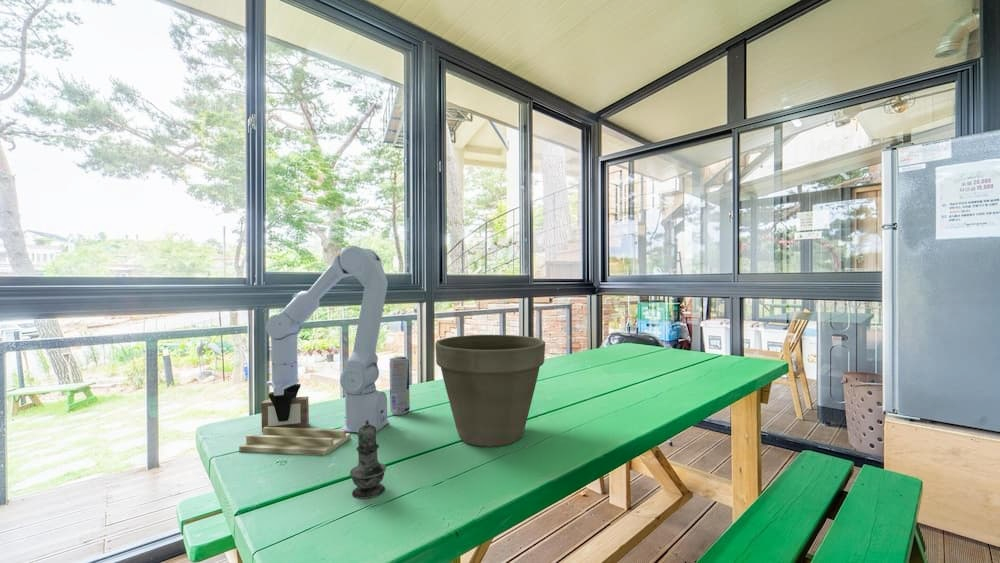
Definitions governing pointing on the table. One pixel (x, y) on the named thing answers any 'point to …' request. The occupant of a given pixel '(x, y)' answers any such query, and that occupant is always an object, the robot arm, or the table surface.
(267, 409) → the frame
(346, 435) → the ledge
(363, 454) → the salt shaker
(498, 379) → the plant pot
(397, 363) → the beverage can
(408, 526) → the table surface
